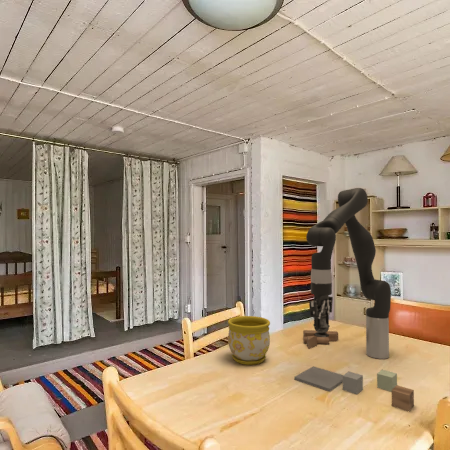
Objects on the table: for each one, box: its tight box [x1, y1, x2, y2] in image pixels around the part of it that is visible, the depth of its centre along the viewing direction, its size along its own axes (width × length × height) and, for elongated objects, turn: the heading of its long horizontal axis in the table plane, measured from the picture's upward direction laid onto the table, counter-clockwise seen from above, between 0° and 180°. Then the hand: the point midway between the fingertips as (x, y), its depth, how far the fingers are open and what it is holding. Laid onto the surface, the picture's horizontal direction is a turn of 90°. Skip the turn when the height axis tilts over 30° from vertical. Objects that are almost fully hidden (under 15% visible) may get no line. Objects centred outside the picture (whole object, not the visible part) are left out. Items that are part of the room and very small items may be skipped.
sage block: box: [376, 369, 398, 393], centre depth 121 cm, size 5×5×5 cm
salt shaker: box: [312, 306, 330, 337], centre depth 128 cm, size 6×6×12 cm
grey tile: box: [293, 366, 344, 393], centre depth 127 cm, size 14×14×1 cm
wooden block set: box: [302, 329, 339, 350], centre depth 168 cm, size 17×6×18 cm
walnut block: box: [391, 384, 415, 412], centre depth 108 cm, size 5×5×5 cm
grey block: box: [342, 371, 364, 395], centre depth 119 cm, size 5×5×5 cm
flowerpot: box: [227, 315, 271, 366], centre depth 147 cm, size 18×18×16 cm
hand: (321, 326), depth 128 cm, fingers closed on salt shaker, 6 cm apart
